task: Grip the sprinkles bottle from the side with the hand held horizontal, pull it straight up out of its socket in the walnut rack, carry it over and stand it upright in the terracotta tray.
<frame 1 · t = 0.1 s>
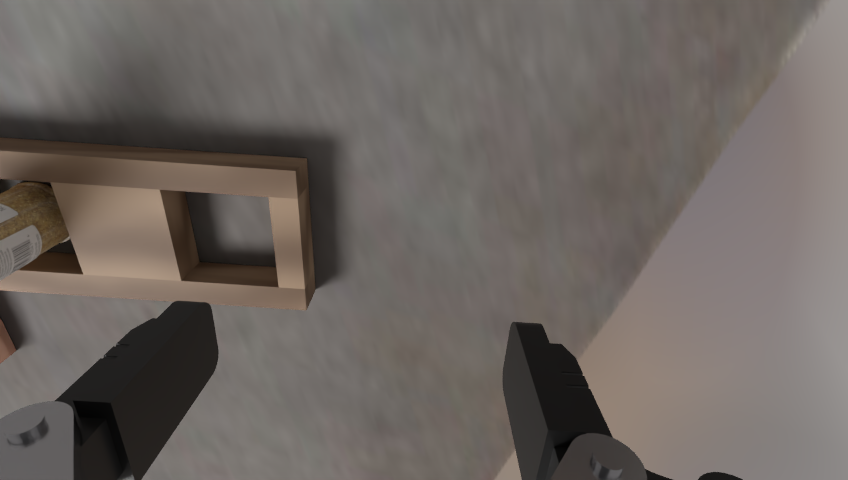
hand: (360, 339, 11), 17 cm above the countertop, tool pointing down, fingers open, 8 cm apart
walnut rack: (143, 217, 29), on the countertop
sprinkles bottle: (50, 210, 29), resting in walnut rack
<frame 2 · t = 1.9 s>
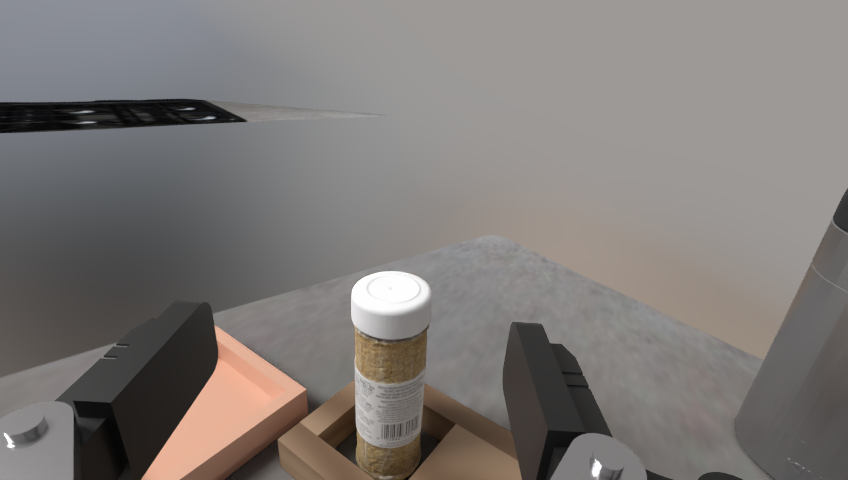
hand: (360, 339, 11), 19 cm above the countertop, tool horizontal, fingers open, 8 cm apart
terracotta tray: (187, 424, 31), on the countertop
sprinkles bottle: (387, 458, 30), resting in walnut rack
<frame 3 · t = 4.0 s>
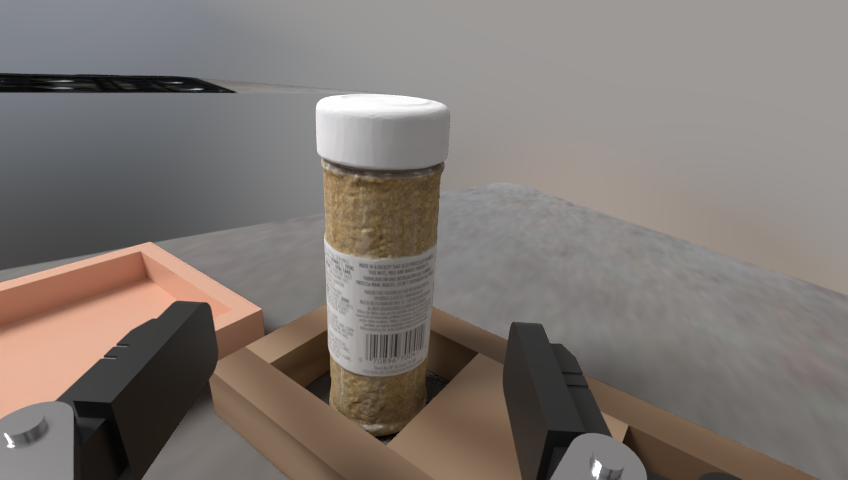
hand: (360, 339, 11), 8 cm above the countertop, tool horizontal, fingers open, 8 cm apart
terracotta tray: (87, 357, 21), on the countertop
sprinkles bottle: (377, 404, 20), resting in walnut rack
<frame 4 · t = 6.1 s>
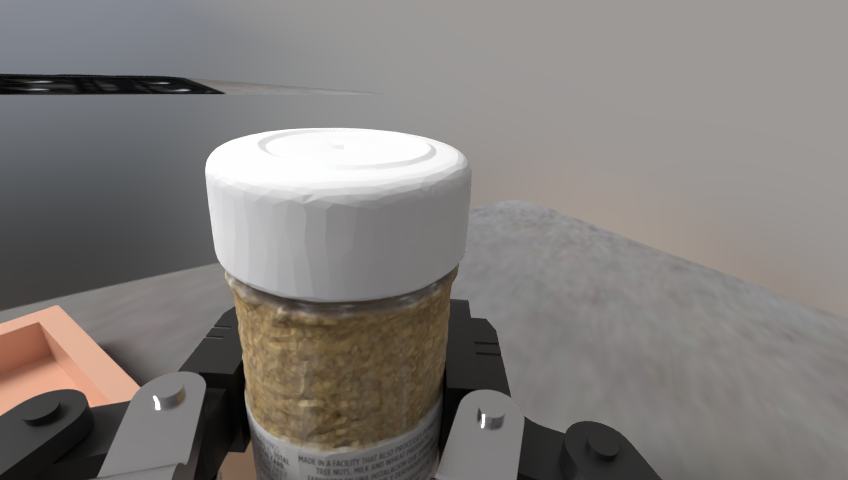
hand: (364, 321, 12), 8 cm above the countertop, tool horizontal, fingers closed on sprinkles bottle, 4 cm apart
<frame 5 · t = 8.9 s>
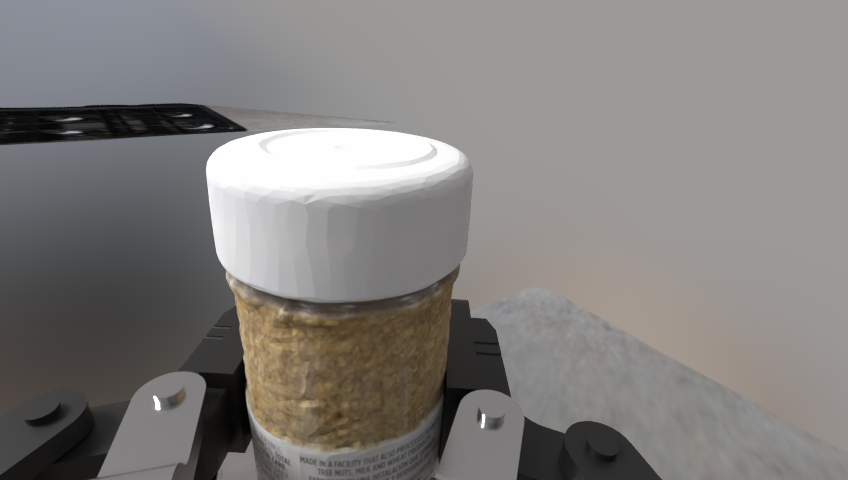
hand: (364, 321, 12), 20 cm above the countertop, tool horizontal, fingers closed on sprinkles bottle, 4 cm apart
when the fingers open (9 cm above the countertop, at t = 12.0 s): sprinkles bottle stays where it is, resting on terracotta tray.
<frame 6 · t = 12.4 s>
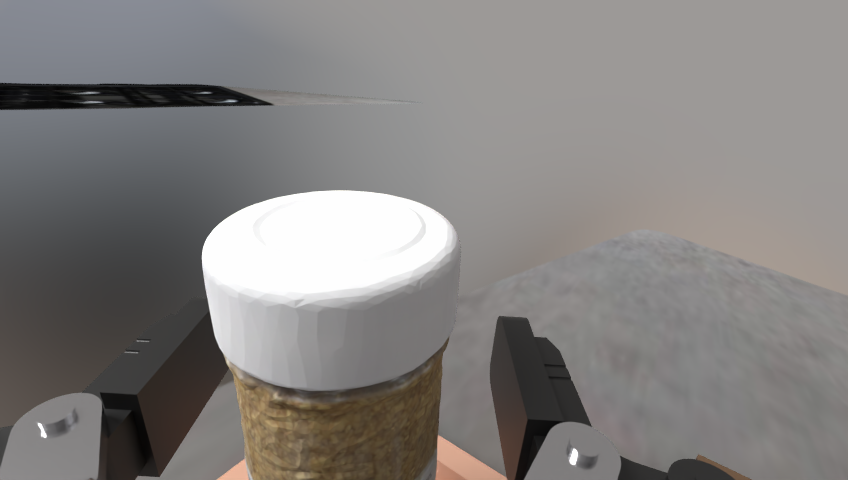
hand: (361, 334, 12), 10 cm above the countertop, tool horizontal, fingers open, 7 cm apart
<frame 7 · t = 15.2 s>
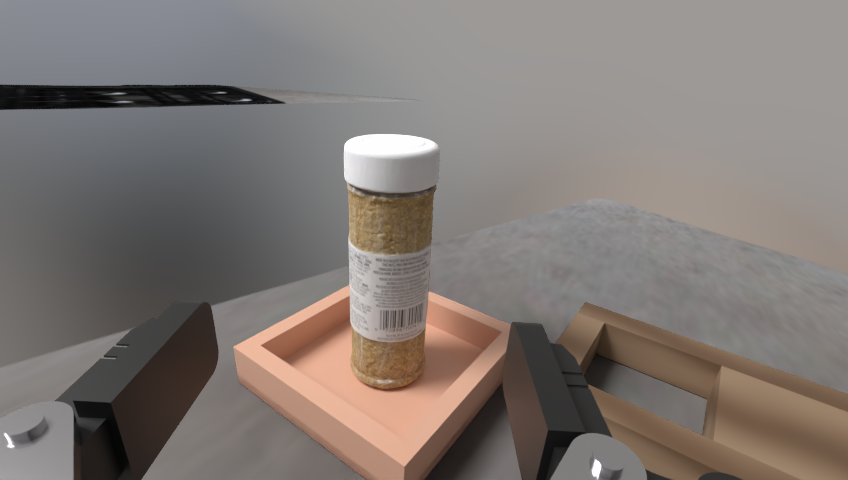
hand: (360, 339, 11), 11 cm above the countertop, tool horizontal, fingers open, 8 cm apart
terracotta tray: (386, 371, 26), on the countertop
walnut rack: (777, 467, 21), on the countertop
sprinkles bottle: (387, 368, 26), resting on terracotta tray
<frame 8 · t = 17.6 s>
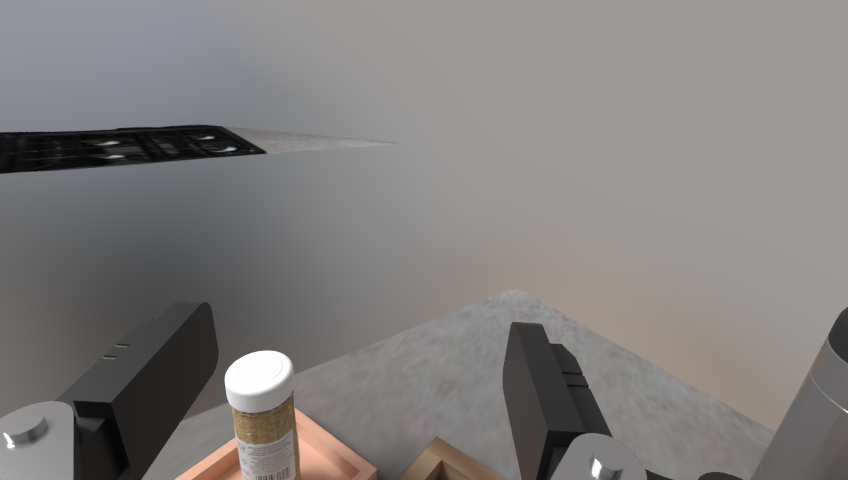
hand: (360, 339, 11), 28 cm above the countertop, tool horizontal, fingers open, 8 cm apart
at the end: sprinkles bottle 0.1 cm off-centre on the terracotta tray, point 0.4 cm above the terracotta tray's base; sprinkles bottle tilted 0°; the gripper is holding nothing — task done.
